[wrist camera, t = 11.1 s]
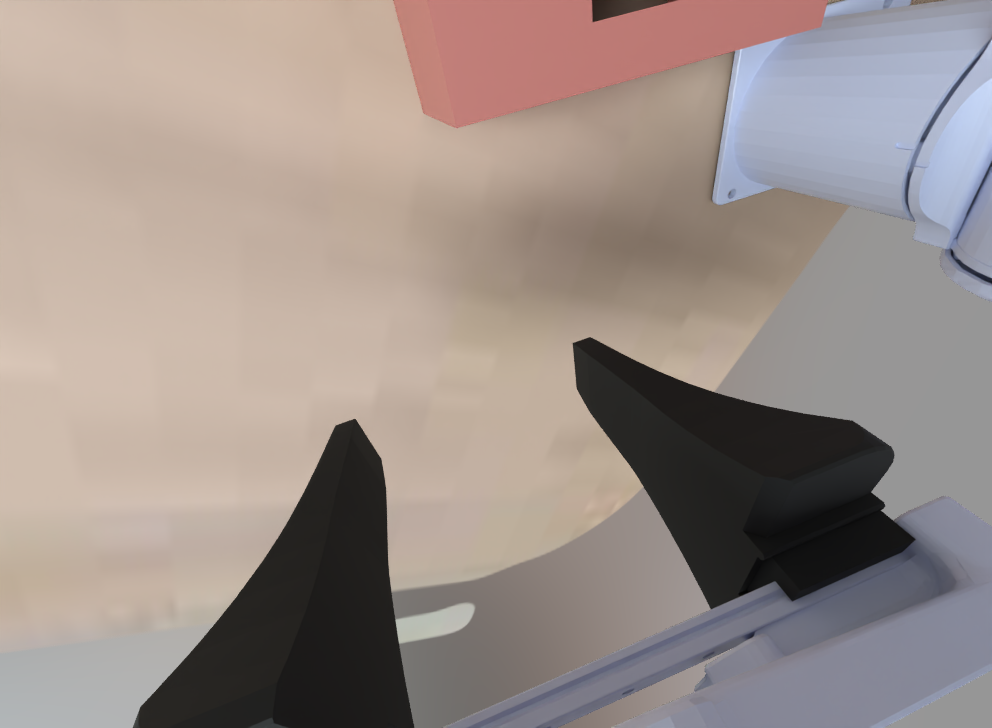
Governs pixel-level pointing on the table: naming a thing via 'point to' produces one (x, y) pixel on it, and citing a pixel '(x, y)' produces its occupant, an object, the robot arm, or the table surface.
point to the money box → (570, 46)
